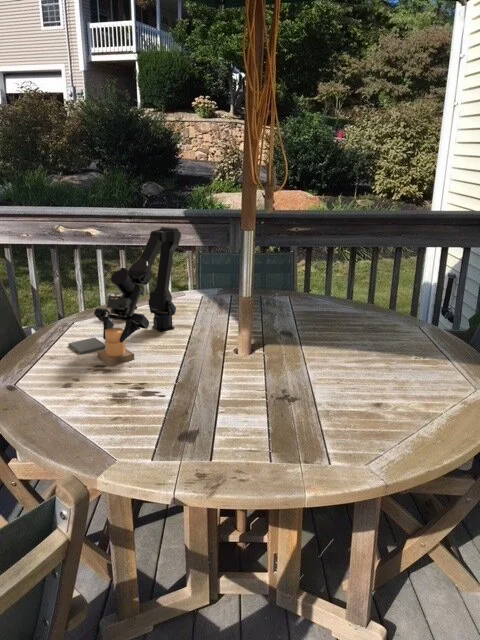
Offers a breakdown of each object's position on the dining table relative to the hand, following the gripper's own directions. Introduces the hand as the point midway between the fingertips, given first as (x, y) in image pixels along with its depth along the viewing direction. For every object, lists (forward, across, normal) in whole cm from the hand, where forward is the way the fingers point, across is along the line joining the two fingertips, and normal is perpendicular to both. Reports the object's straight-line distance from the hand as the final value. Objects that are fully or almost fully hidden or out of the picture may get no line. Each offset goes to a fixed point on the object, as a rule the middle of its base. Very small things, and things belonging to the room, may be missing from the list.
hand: (112, 340), depth 178 cm
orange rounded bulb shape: (+2, 0, +4) cm, 5 cm away
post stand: (+4, 0, +6) cm, 7 cm away
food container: (-24, -22, +34) cm, 47 cm away
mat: (+1, -15, +9) cm, 17 cm away
